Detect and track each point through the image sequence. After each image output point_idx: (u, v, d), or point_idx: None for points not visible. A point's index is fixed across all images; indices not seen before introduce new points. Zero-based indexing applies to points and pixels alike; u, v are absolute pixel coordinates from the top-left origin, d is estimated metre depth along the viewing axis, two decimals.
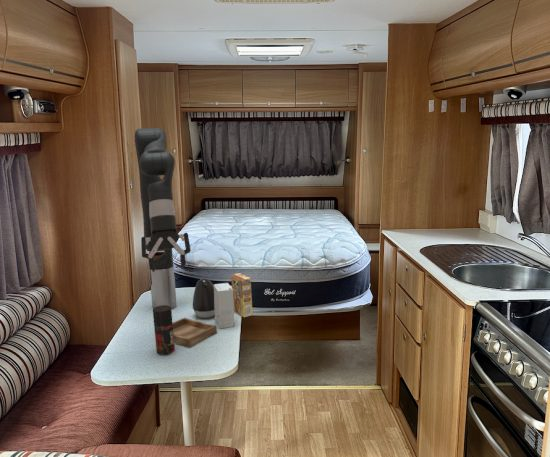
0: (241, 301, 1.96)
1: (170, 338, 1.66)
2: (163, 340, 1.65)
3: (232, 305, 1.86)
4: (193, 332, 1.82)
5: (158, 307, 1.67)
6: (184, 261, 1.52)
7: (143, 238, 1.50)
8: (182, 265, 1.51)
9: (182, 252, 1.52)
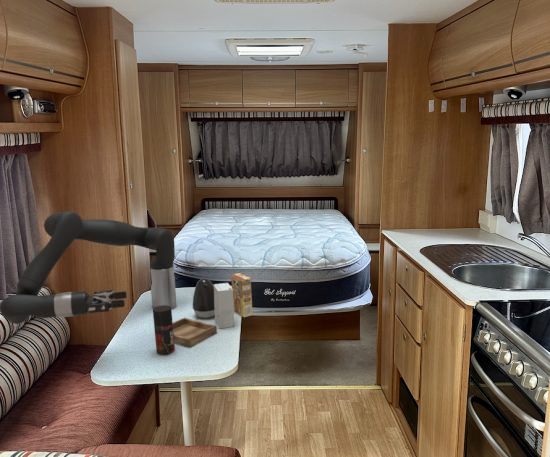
0: (241, 301, 1.96)
1: (170, 338, 1.66)
2: (163, 340, 1.65)
3: (232, 305, 1.86)
4: (193, 332, 1.82)
5: (158, 307, 1.67)
6: None
7: None
8: None
9: None
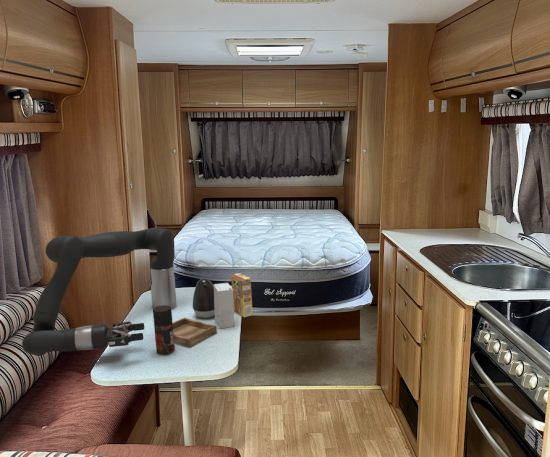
0: (241, 301, 1.96)
1: (170, 338, 1.66)
2: (163, 340, 1.65)
3: (232, 305, 1.86)
4: (193, 332, 1.82)
5: (158, 307, 1.67)
6: None
7: None
8: None
9: None
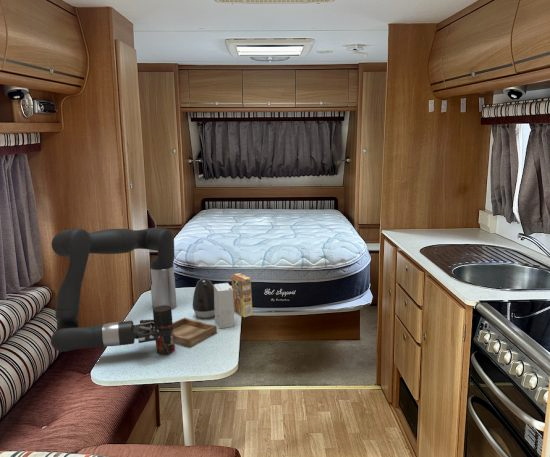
0: (241, 301, 1.96)
1: (170, 338, 1.66)
2: (163, 340, 1.65)
3: (232, 305, 1.86)
4: (193, 332, 1.82)
5: (158, 307, 1.67)
6: None
7: None
8: None
9: None
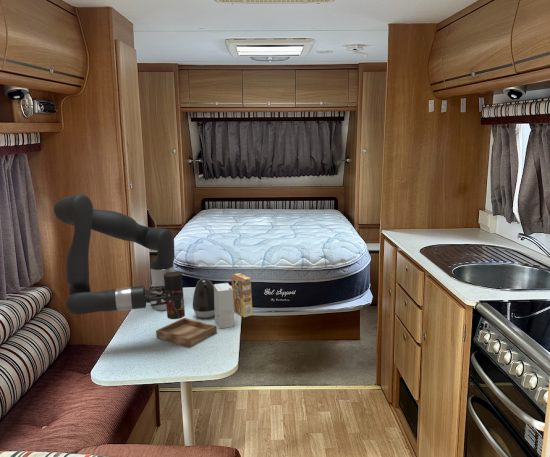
0: (241, 301, 1.96)
1: (181, 302, 1.72)
2: (174, 304, 1.70)
3: (232, 305, 1.86)
4: (193, 332, 1.82)
5: (169, 273, 1.72)
6: None
7: None
8: None
9: None
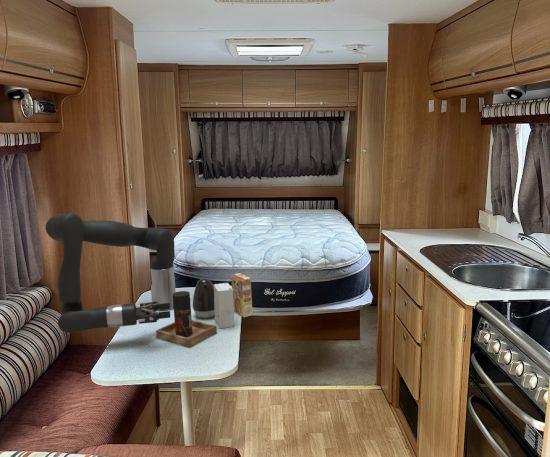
0: (241, 301, 1.96)
1: (189, 321, 1.78)
2: (182, 323, 1.76)
3: (232, 305, 1.86)
4: (193, 332, 1.82)
5: (177, 292, 1.79)
6: None
7: None
8: None
9: None
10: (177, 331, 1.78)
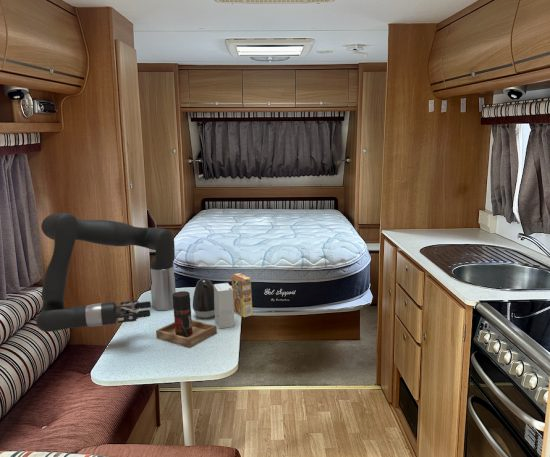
0: (241, 301, 1.96)
1: (189, 321, 1.77)
2: (182, 323, 1.76)
3: (232, 305, 1.86)
4: (193, 332, 1.82)
5: (177, 293, 1.78)
6: None
7: None
8: None
9: None
10: (177, 331, 1.78)
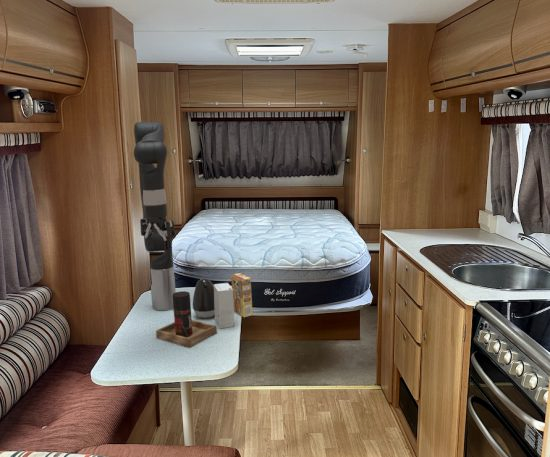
0: (241, 301, 1.96)
1: (189, 321, 1.77)
2: (182, 324, 1.76)
3: (232, 305, 1.86)
4: (193, 332, 1.82)
5: (177, 293, 1.78)
6: (167, 246, 1.70)
7: (141, 220, 1.74)
8: (165, 249, 1.70)
9: (164, 238, 1.69)
10: (177, 331, 1.78)
